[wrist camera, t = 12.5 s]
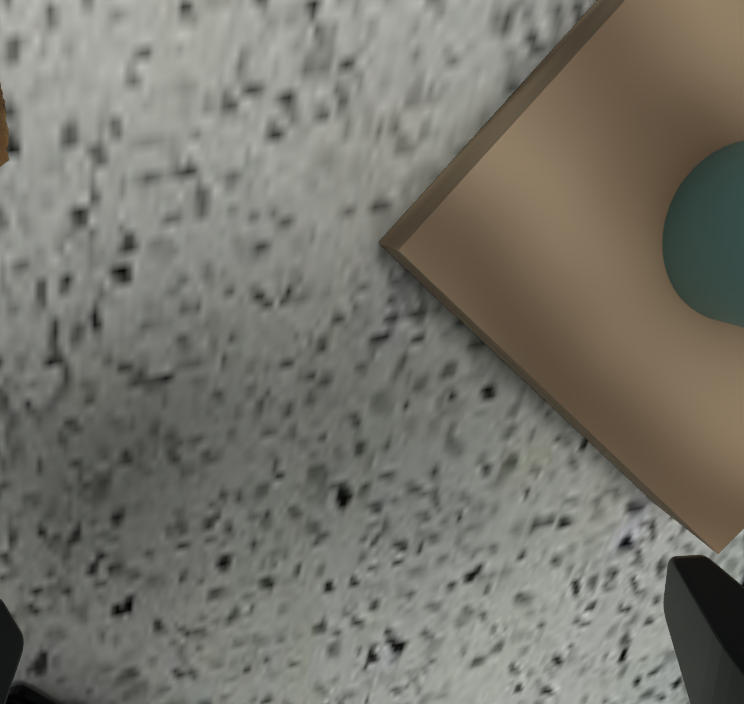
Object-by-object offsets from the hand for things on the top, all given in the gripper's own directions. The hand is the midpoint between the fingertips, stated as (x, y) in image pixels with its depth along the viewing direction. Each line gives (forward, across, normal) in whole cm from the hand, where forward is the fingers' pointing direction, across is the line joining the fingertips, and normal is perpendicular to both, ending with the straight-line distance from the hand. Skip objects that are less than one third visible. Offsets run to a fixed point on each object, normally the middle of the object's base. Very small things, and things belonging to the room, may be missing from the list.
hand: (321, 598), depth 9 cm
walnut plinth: (+15, -10, +1) cm, 18 cm away
